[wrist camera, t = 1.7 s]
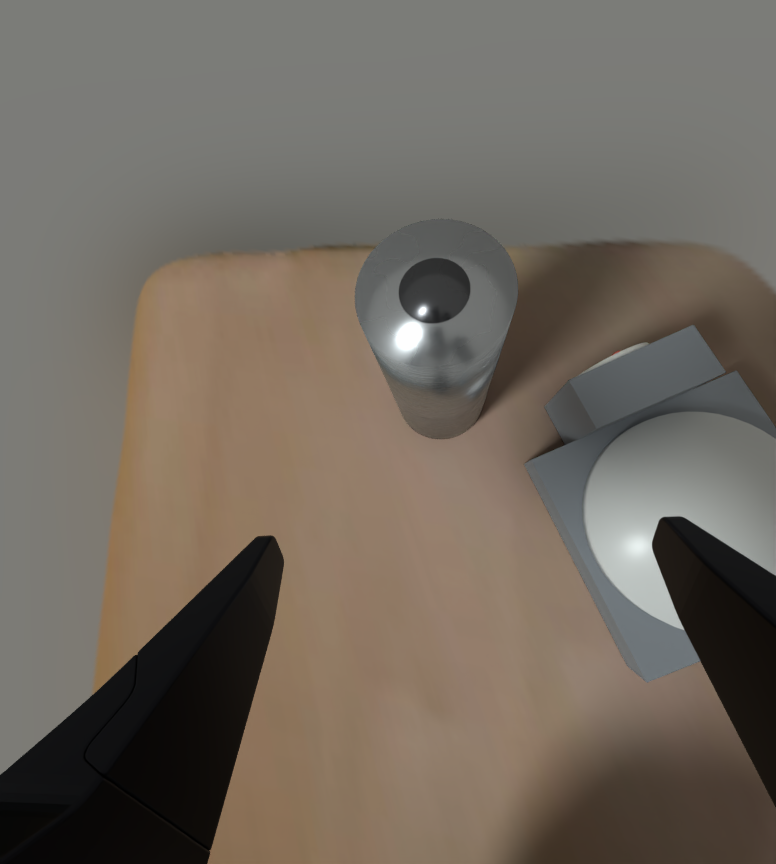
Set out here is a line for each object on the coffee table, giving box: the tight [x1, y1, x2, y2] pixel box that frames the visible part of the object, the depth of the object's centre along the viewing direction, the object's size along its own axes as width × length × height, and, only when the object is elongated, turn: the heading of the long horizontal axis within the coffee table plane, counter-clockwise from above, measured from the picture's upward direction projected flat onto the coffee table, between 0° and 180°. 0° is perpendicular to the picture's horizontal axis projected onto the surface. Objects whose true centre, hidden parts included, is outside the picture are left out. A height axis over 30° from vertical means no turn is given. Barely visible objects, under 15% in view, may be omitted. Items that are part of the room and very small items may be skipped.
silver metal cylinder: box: [355, 219, 518, 439], centre depth 18 cm, size 5×5×12 cm
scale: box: [524, 325, 776, 682], centre depth 19 cm, size 11×14×5 cm
